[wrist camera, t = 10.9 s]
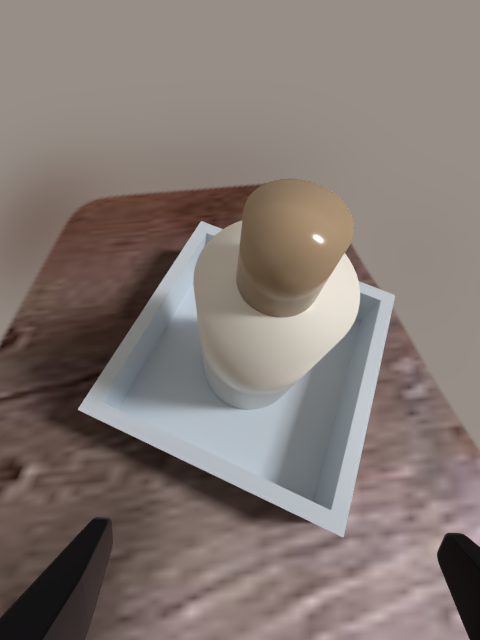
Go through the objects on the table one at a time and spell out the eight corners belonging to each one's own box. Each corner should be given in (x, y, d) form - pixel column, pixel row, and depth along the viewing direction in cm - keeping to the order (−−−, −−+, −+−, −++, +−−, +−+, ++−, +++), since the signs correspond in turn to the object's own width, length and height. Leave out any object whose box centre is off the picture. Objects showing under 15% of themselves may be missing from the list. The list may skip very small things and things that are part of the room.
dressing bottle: (275, 426, 18) (386, 361, 6) (187, 385, 19) (139, 258, 7) (305, 342, 21) (424, 186, 9) (226, 309, 21) (240, 122, 10)
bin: (319, 522, 17) (343, 537, 13) (101, 418, 18) (77, 409, 15) (369, 318, 22) (395, 295, 19) (203, 252, 24) (201, 221, 21)
